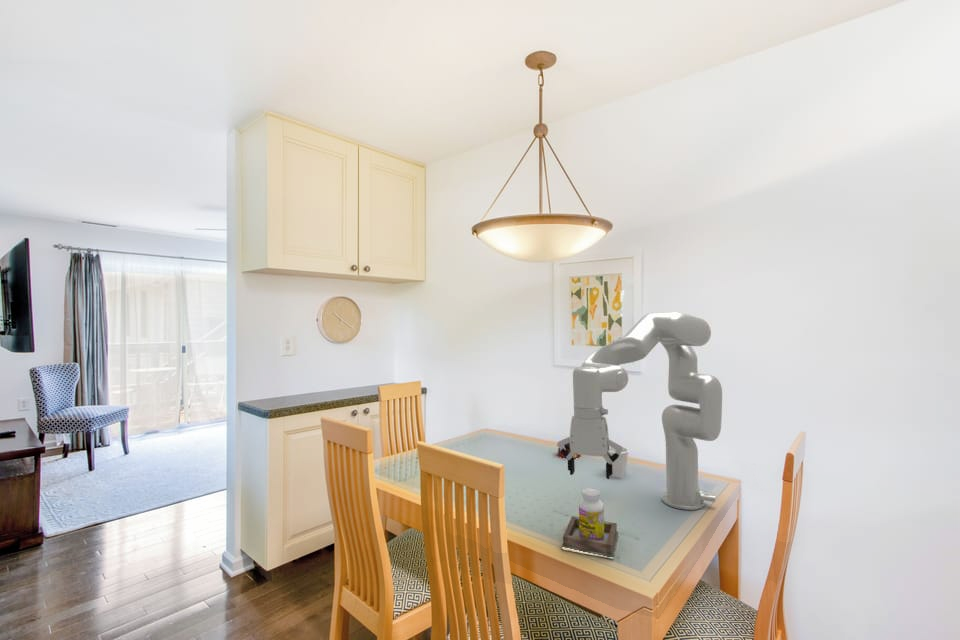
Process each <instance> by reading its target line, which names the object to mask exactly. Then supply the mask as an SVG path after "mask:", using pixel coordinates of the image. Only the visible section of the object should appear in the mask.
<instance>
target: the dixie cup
mask: <svg viewBox="0 0 960 640" xmlns="http://www.w3.org/2000/svg"><path fill="white" fill-rule="evenodd" d="M622 447H623V449H622V451H621V453H620V455H619V457H618V458H617V459H616V460H615V461H614V462H613V463H612V469H613V474H612V475H610V477H612V476H613V477H612V478H617V479H619V478H621V479H622V478H625V477H626V474H627V464H628V456H629V455H628V454H629V451H630V450H629V448H627V447H624V446H622ZM608 452H609V453H610V455H611V456H612V455H613V454H614V453H615V452H616V450H615V449H614V448H612V447H610V446H609V451H608Z"/></svg>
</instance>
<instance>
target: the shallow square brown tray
mask: <svg viewBox="0 0 960 640" xmlns="http://www.w3.org/2000/svg"><path fill="white" fill-rule="evenodd" d="M617 525H618V523H617V522H612V521H611V522H609V521H605V520H604V540H603V541H599V540H593V539H587V538H582V537H580V536H579V516H574V515H573V516H571V518H570V519H569V522H568V524H567V527H566V529H565V531H564V533H563V535H562V544H561V547H565V548H570V549H574V550H579V551H583V552H588V553H593V554H598V555H603V556H607V557H614V558H615V554H614V552H615V553H616V549H615V547H616V548H617V544H618V540H617V538H618V539H619V531H618V529H617ZM616 543H617V544H616Z"/></svg>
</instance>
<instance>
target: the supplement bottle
mask: <svg viewBox="0 0 960 640" xmlns="http://www.w3.org/2000/svg"><path fill="white" fill-rule="evenodd" d="M581 492H582V493H581V495H582V498H581V499H580V500H579V502H578V517H579V536H580V537H582V538H587V539H593V540H599V541H603V540H604V521H605V507H604V506H605V505H604V503H603V501H601V500H600V498H601V493H600V491H599V490H598V489H595V488H584V489H583V490H582V491H581Z"/></svg>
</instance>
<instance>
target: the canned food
mask: <svg viewBox="0 0 960 640" xmlns="http://www.w3.org/2000/svg"><path fill="white" fill-rule="evenodd" d="M556 446H557V447H558V445H557V444H556ZM564 446H565V448H566V449H567V450H568V451H569V452H570V442H569V443H567V444H565V445H564ZM557 455H558V458H560V457H561V459H563V458H565V459H564V460H567V459H566V457H565V456H564V455H563V454H562V453H561V450H560V449H559V447H558V448H557ZM573 457H574V460H577V459H576V458H578V459H580V458H581V457H582V455H579V454H575V455H574V456H573ZM579 457H580V458H579Z"/></svg>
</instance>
